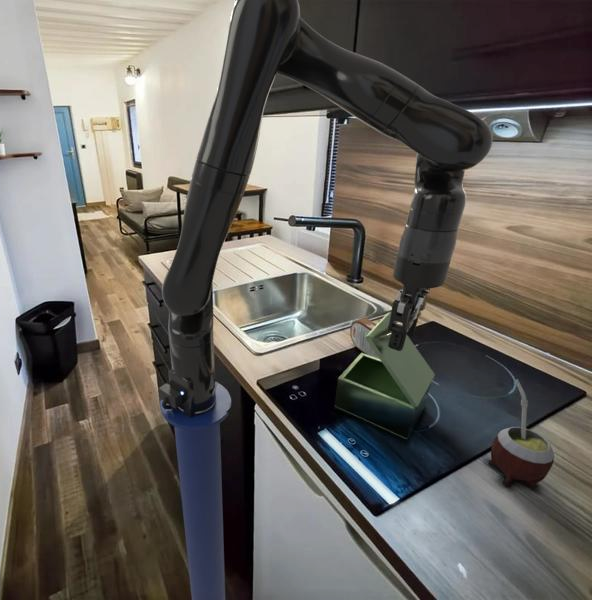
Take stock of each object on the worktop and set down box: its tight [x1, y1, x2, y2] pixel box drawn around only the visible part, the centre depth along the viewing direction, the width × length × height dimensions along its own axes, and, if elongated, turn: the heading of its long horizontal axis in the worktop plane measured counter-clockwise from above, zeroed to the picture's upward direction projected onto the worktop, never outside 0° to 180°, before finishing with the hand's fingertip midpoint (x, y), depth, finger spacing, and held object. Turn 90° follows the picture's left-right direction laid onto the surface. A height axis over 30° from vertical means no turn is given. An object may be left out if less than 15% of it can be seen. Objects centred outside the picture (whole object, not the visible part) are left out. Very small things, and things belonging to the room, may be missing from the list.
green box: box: [333, 352, 433, 443], centre depth 73 cm, size 14×12×8 cm
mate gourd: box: [487, 378, 555, 490], centre depth 56 cm, size 8×8×15 cm
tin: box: [349, 317, 379, 359], centre depth 89 cm, size 15×3×8 cm, turn 17°
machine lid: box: [365, 311, 436, 407], centre depth 66 cm, size 14×12×5 cm
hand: (401, 340), depth 66 cm, fingers closed on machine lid, 6 cm apart
